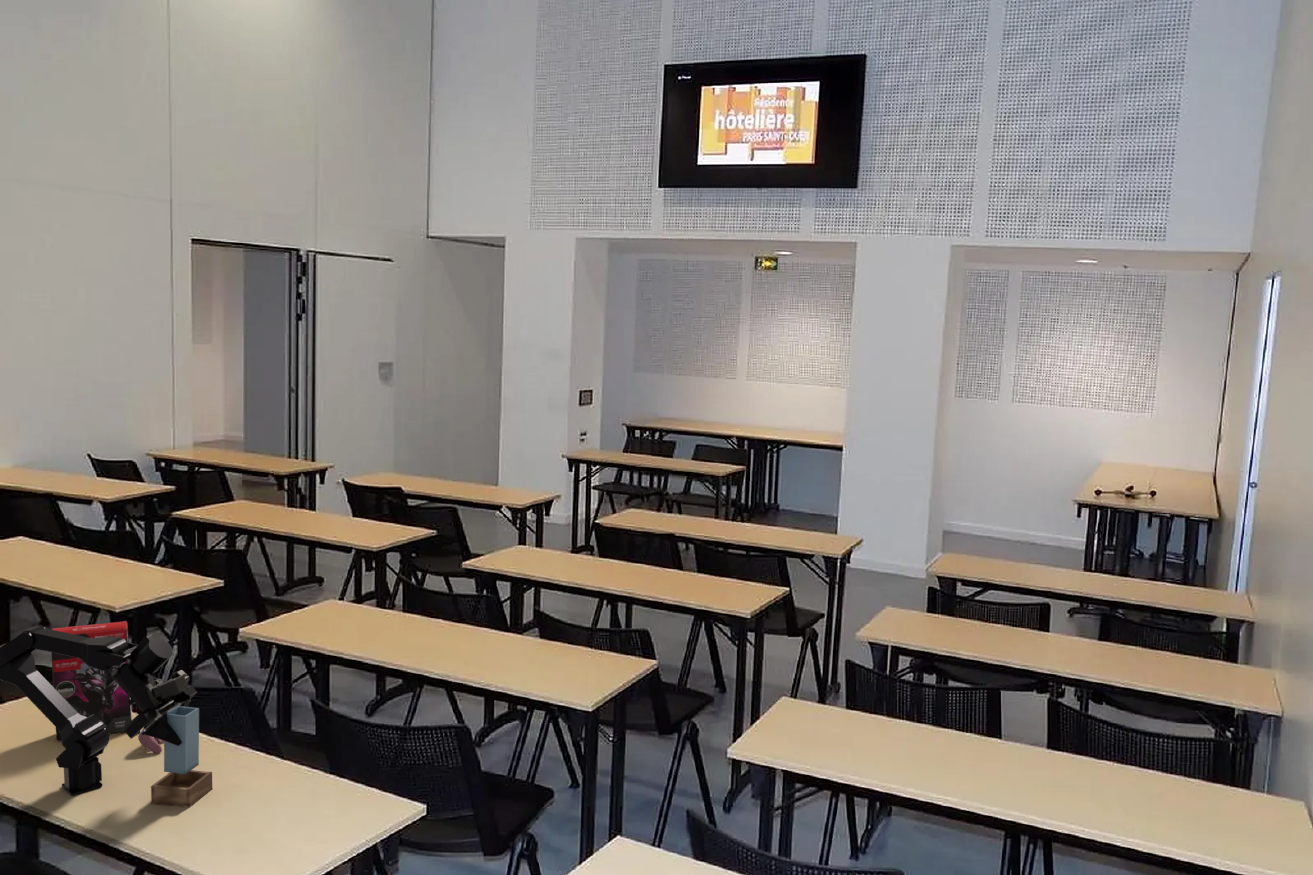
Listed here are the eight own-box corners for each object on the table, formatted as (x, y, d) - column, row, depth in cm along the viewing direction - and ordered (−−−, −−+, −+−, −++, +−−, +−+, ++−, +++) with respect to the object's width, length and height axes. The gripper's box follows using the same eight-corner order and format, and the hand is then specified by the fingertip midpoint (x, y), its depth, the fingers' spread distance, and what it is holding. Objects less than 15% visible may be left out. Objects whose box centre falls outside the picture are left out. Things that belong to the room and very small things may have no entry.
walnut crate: (151, 803, 226) (150, 786, 225) (175, 785, 235) (175, 768, 234) (189, 807, 225) (189, 789, 224) (212, 789, 234) (212, 772, 233)
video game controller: (165, 743, 261) (152, 719, 260) (181, 736, 260) (168, 711, 260) (145, 760, 251) (131, 735, 250) (161, 752, 250) (147, 727, 250)
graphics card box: (54, 743, 255) (49, 635, 252) (55, 732, 261) (51, 627, 258) (132, 732, 263) (128, 627, 260) (131, 722, 269) (128, 619, 266)
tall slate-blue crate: (164, 771, 227) (164, 714, 225) (177, 762, 232) (178, 706, 230) (185, 774, 226) (185, 716, 225) (198, 764, 231) (198, 708, 230)
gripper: (137, 678, 217) (187, 733, 217) (188, 650, 236) (234, 701, 236) (103, 711, 219) (152, 766, 219) (156, 680, 238) (202, 731, 238)
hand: (187, 739), depth 228 cm, fingers closed on tall slate-blue crate, 5 cm apart
